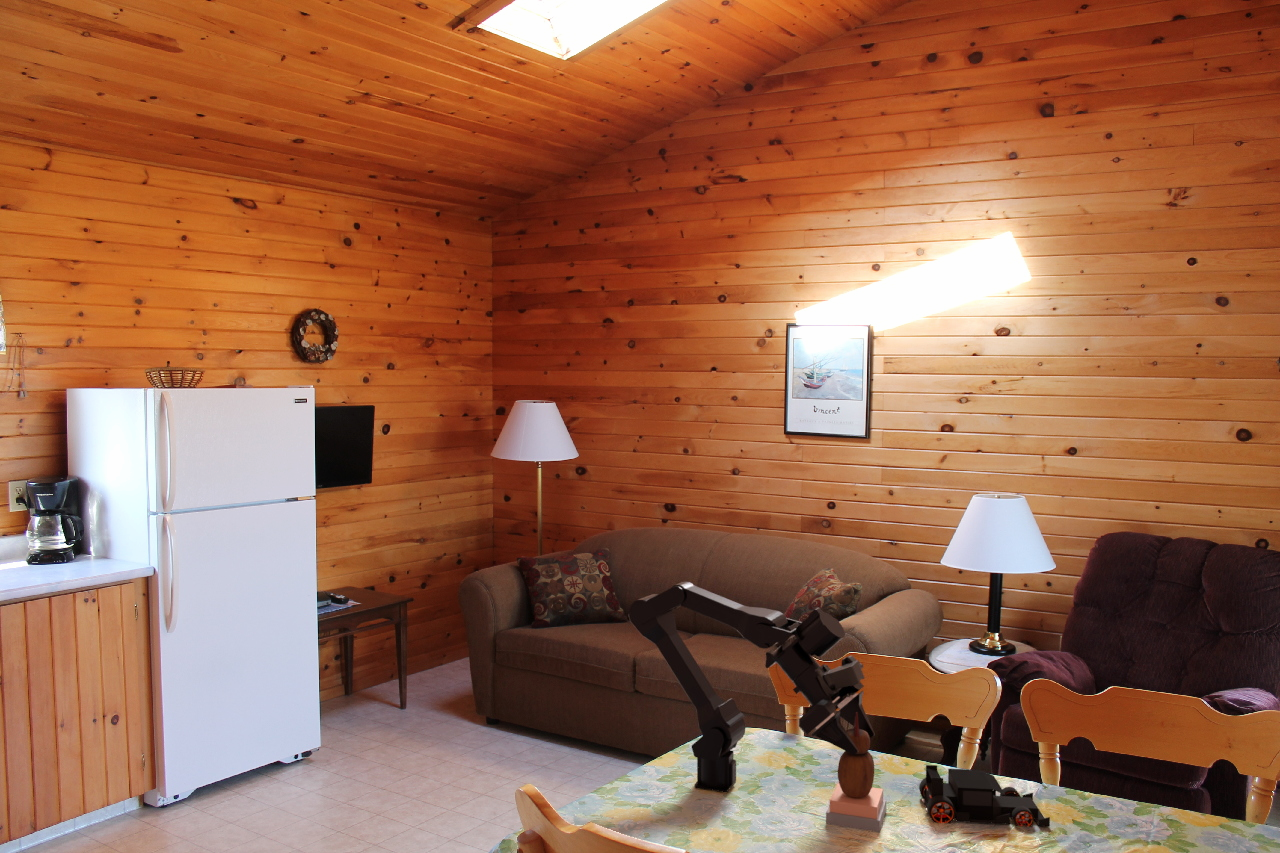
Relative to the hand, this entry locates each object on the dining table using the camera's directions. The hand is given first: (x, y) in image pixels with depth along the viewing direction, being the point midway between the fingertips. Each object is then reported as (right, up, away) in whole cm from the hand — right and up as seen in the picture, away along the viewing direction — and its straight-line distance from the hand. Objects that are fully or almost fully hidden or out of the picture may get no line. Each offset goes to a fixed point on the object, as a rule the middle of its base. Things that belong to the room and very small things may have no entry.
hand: (864, 744), depth 166 cm
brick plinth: (-1, -13, +1) cm, 13 cm away
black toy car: (+21, -14, +3) cm, 25 cm away
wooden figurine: (-1, -9, +1) cm, 9 cm away
